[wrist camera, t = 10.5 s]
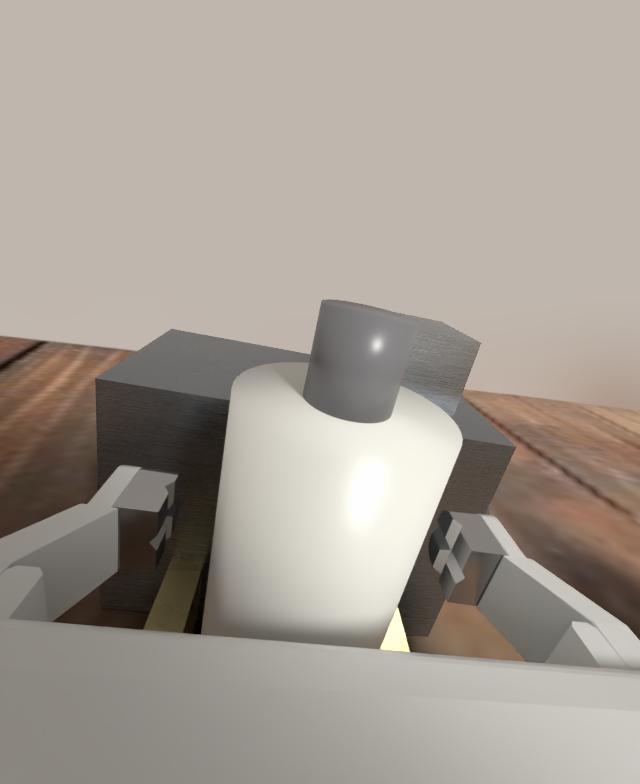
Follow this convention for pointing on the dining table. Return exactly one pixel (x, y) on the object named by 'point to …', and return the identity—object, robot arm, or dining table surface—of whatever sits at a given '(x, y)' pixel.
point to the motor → (206, 447)
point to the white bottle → (326, 487)
